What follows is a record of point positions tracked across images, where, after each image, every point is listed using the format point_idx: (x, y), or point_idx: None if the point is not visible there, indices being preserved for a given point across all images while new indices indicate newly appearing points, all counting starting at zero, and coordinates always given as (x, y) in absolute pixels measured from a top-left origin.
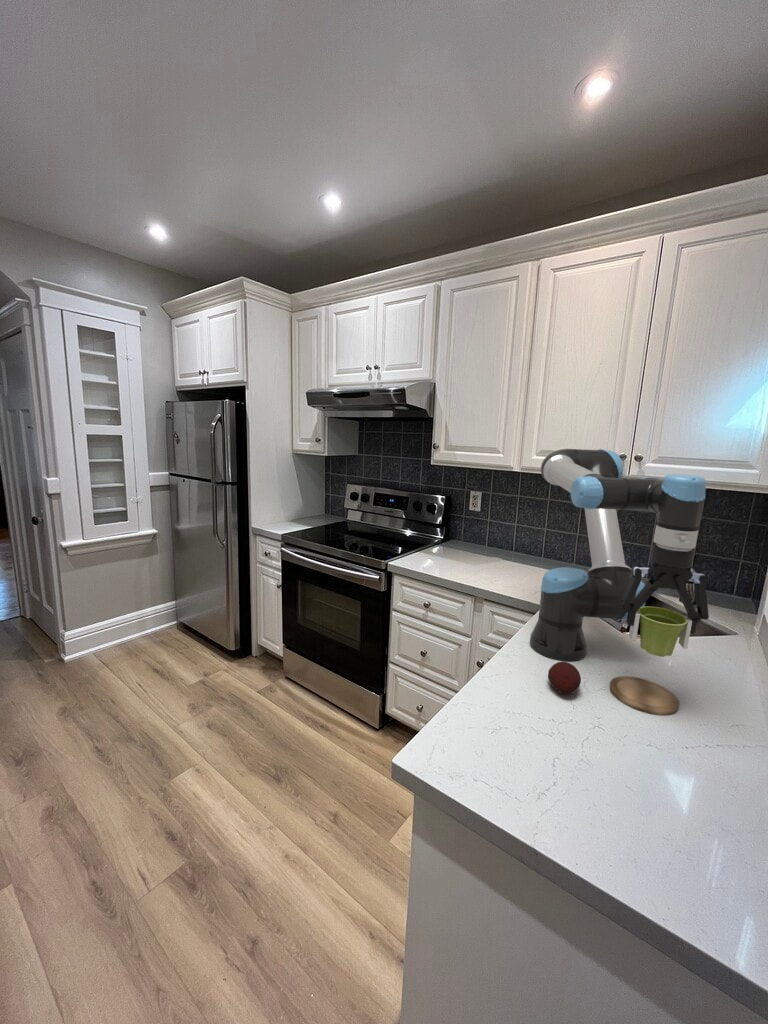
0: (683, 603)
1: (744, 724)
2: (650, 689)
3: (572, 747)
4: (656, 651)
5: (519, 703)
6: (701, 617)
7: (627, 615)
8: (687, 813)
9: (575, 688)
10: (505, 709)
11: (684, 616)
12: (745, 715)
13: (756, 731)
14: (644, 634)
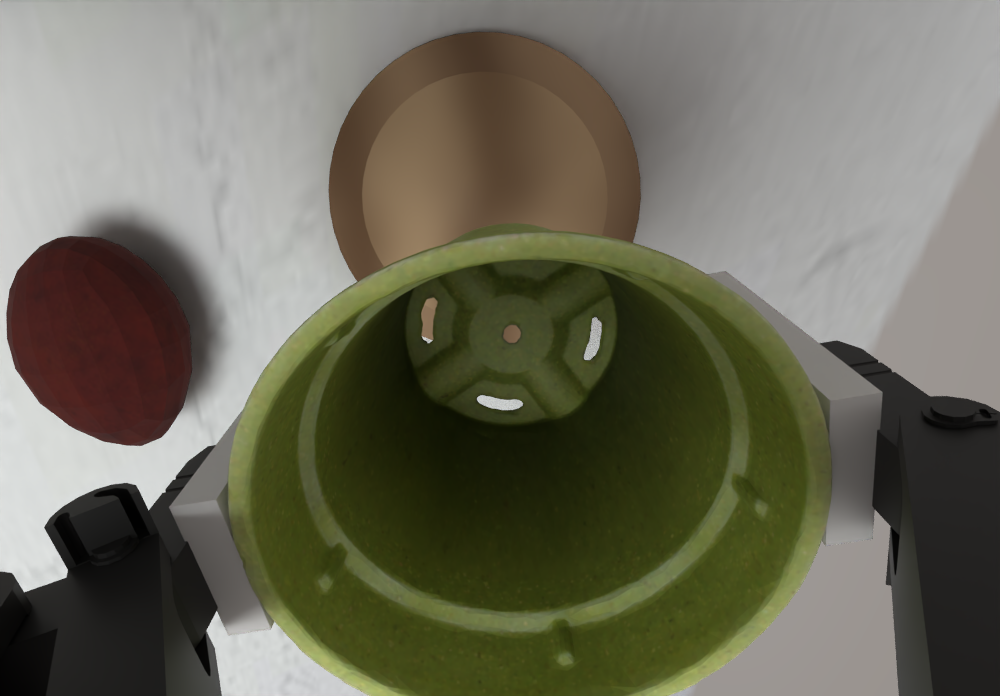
0: (914, 608)
1: (881, 225)
2: (522, 154)
3: (256, 644)
4: (498, 447)
5: (28, 513)
6: None
7: (159, 506)
8: None
9: (178, 413)
10: (3, 568)
11: (837, 416)
12: (928, 133)
13: (906, 260)
14: (391, 472)
